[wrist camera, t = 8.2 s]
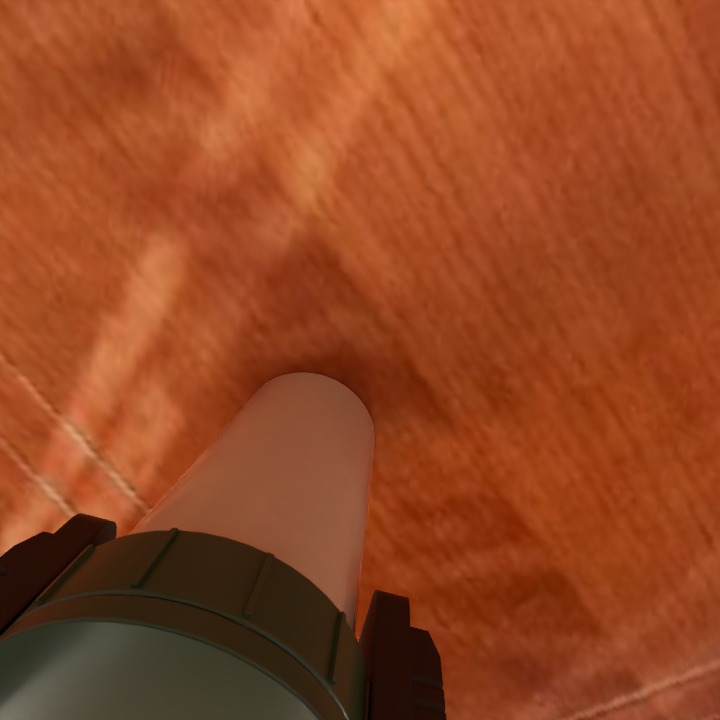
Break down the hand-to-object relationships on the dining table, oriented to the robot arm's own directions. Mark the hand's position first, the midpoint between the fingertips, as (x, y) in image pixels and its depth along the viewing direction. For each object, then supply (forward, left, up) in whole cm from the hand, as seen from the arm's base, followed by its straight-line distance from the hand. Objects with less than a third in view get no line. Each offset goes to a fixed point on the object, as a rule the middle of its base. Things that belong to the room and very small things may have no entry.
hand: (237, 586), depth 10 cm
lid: (0, 0, +3) cm, 3 cm away
